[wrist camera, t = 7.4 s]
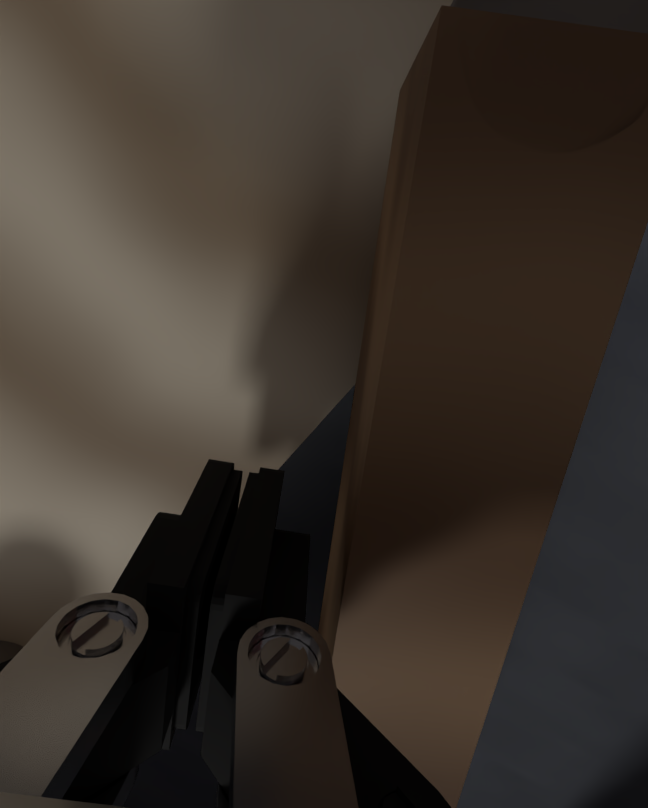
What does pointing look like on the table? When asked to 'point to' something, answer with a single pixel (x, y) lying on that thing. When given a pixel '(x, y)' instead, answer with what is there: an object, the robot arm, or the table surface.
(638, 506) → the table surface
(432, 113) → the folding leg
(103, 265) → the stool seat
